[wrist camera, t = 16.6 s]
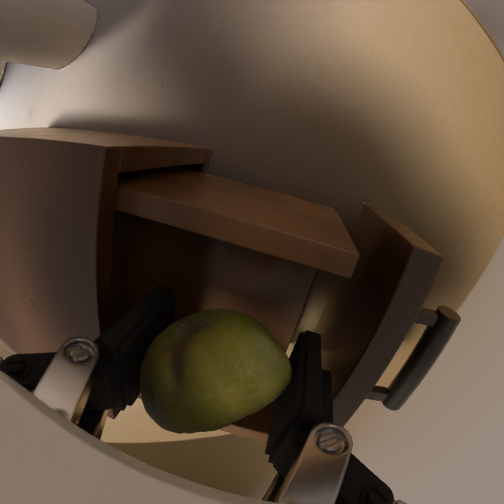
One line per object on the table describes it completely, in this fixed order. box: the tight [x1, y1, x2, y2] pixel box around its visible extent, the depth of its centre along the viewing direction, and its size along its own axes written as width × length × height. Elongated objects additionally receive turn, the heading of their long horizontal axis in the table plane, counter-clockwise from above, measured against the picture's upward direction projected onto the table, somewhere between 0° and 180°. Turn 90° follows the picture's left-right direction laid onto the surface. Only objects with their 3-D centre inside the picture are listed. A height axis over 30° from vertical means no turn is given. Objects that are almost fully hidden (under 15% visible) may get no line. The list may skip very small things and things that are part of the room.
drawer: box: [111, 166, 461, 442], centre depth 13 cm, size 19×12×8 cm, turn 76°
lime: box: [139, 308, 293, 434], centre depth 9 cm, size 4×5×5 cm
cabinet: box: [0, 128, 212, 419], centre depth 14 cm, size 16×13×10 cm
